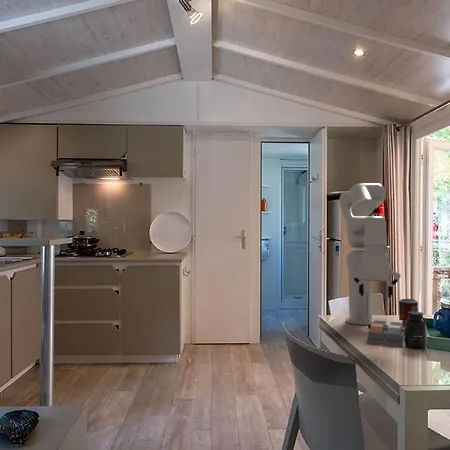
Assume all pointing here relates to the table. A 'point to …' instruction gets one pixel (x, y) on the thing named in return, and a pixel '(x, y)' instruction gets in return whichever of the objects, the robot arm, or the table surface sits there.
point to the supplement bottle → (415, 331)
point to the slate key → (394, 330)
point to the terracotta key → (377, 328)
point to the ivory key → (397, 323)
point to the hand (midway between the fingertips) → (375, 296)
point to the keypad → (386, 338)
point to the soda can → (407, 308)
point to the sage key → (380, 322)
